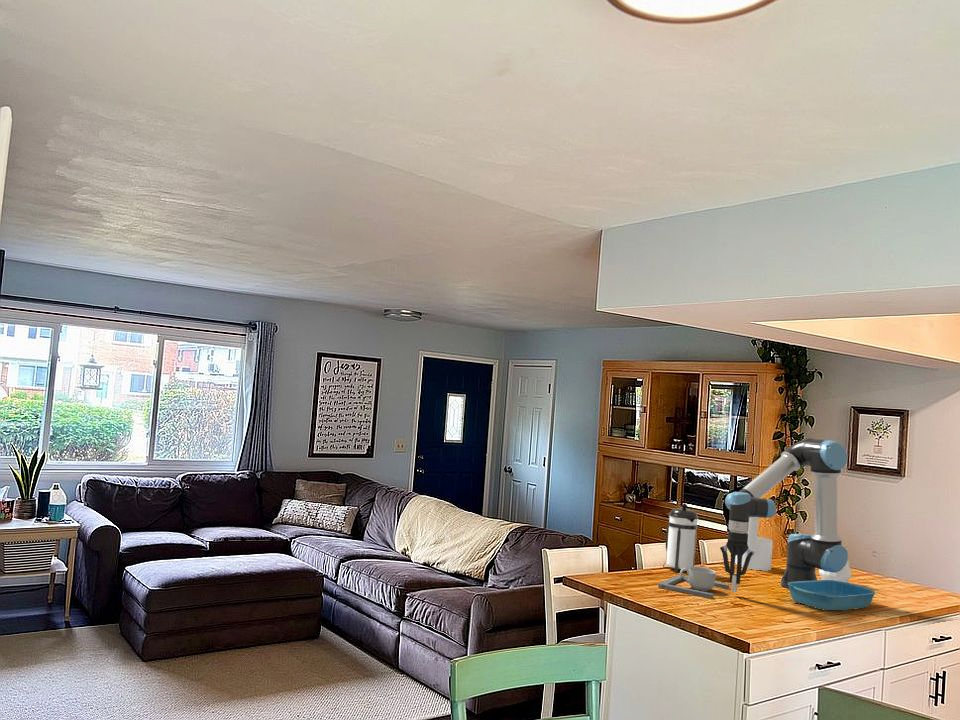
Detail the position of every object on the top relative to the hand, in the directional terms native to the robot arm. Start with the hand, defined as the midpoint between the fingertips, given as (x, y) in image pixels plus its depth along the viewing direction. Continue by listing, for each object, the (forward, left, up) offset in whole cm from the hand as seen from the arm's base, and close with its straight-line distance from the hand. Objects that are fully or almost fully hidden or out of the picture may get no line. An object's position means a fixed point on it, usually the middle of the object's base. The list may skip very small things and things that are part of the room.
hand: (734, 591), depth 309 cm
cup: (-27, -73, -2) cm, 78 cm away
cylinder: (+10, -75, -2) cm, 76 cm away
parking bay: (+15, 0, -2) cm, 15 cm away
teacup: (+15, 0, -2) cm, 15 cm away
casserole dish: (-32, -22, -2) cm, 39 cm away
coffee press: (+33, -32, -2) cm, 46 cm away
